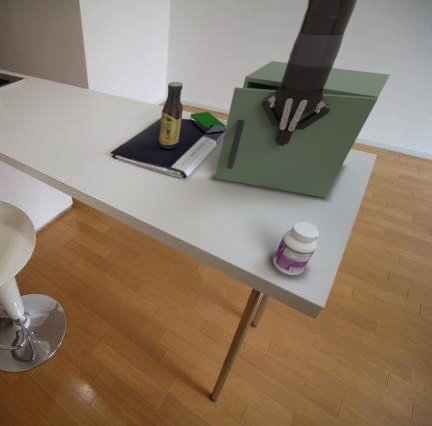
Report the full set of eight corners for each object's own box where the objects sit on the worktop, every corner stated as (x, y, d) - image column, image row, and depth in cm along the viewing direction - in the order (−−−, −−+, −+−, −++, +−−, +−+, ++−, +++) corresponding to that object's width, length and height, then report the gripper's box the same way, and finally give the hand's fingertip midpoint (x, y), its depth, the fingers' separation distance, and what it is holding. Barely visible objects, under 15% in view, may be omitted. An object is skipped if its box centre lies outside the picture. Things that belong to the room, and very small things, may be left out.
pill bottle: (277, 250, 58) (294, 214, 52) (306, 263, 56) (327, 226, 49) (268, 266, 55) (285, 230, 49) (298, 281, 53) (320, 244, 46)
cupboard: (324, 195, 71) (378, 96, 56) (224, 163, 85) (245, 76, 70) (341, 165, 81) (390, 74, 66) (249, 141, 95) (271, 60, 80)
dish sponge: (205, 134, 100) (207, 128, 98) (189, 119, 110) (190, 113, 109) (224, 132, 101) (226, 125, 99) (207, 117, 111) (208, 111, 110)
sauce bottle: (155, 144, 96) (158, 82, 83) (170, 140, 98) (176, 78, 85) (166, 153, 91) (171, 88, 79) (182, 148, 93) (190, 84, 80)
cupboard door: (327, 211, 66) (385, 109, 51) (211, 189, 75) (231, 96, 60) (324, 195, 71) (376, 97, 56) (215, 176, 80) (234, 87, 64)
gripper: (270, 62, 54) (247, 146, 65) (355, 67, 49) (314, 157, 60) (274, 53, 59) (252, 133, 70) (351, 57, 54) (314, 142, 65)
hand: (280, 144), depth 65 cm, fingers closed
